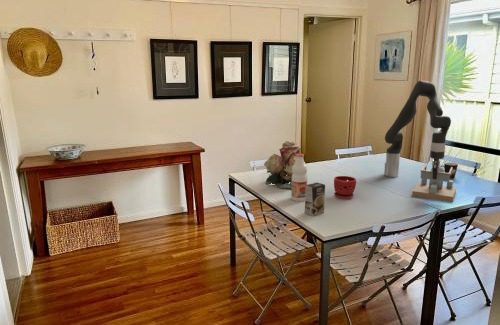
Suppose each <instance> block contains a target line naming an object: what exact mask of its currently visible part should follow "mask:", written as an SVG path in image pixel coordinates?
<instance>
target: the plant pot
mask: <svg viewBox="0 0 500 325" xmlns="http://www.w3.org/2000/svg"><path fill="white" fill-rule="evenodd" d="M356 185H357V179H356V178H355V177H353V176H347V175H339V176H338V175H337V176H334V178H333V187H334V191H335V192H334V193H333V194H334V196H335V197H336V198H338V199H342V200H350V199H352V198H354V195H355V194H354V193H355V189H356Z"/></svg>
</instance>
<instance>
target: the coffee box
mask: <svg viewBox="0 0 500 325" xmlns="http://www.w3.org/2000/svg"><path fill="white" fill-rule="evenodd" d="M325 194H326V184H324V183H321V182H313V183H310V184H307V185H306V193H305V201H304V213H305V214H307V215H309V216H311V217H315V216H317V215H320V214H324V213H325V199H326V197H325V196H326V195H325Z"/></svg>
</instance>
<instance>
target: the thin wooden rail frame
mask: <svg viewBox="0 0 500 325" xmlns="http://www.w3.org/2000/svg"><path fill="white" fill-rule="evenodd" d="M427 166H428V165H427V164H424V166H423V167H422V168H421V169H420V179H421V180H422V179H427V180H430V179H431V180H439V181H443V182H446V183H447V182H449V180H451V179H450V175H452V169H453V167H451V169H450V171H449V173H445V172H438V173H437V179H433V172H432V171H431V170H427V169H428V168H427Z"/></svg>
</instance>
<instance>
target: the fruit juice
mask: <svg viewBox="0 0 500 325" xmlns="http://www.w3.org/2000/svg"><path fill="white" fill-rule="evenodd" d="M304 157H305V154H304V153H301V152H300V153H299V154H296V161H295V163H294V165H293V166H292V172H293V174H292V186H291V188H290V190H291V200H292V201H294V202H305V193H306V185H308V175H307V172H308V166H307V164H306V163H305V162H304V161H305V158H304Z"/></svg>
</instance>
